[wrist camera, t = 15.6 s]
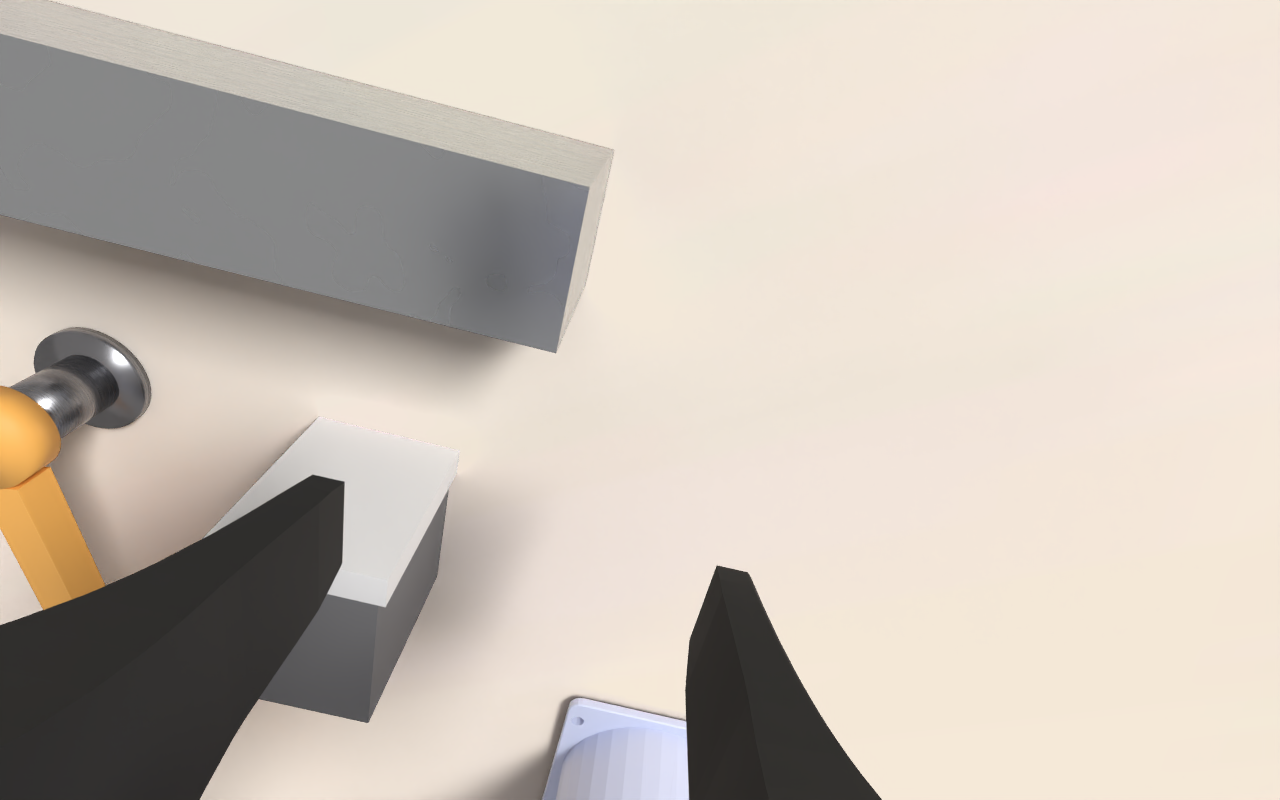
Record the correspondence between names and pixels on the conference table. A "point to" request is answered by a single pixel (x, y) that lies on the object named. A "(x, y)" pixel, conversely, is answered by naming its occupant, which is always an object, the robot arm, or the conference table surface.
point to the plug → (361, 560)
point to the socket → (293, 175)
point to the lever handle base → (87, 381)
